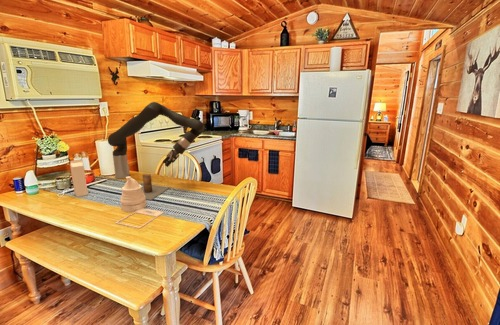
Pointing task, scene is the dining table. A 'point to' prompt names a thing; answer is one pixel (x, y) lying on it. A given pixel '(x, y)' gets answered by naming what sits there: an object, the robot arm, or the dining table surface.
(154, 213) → the photo frame
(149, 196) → the slate mat
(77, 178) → the milk
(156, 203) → the dining table surface
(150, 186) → the walnut peg
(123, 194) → the honey pot
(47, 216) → the dining table surface
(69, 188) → the dining table surface
